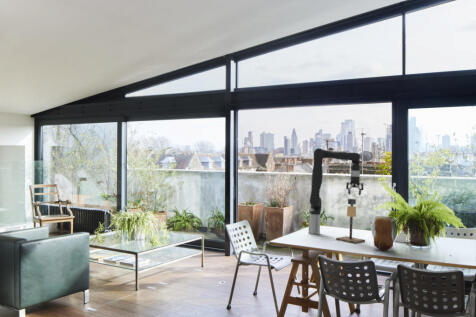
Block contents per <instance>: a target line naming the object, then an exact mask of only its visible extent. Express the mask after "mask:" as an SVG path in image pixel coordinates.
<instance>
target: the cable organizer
mask: <svg viewBox="0 0 476 317" xmlns="http://www.w3.org/2000/svg"><path fill="white" fill-rule="evenodd" d="M394 242H398V243H400V242H401V243H404V242H406V235H405V234H404V232H403V231H401V233H400V235H399V236H398V237H397V238H396V240H395V241H394Z"/></svg>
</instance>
